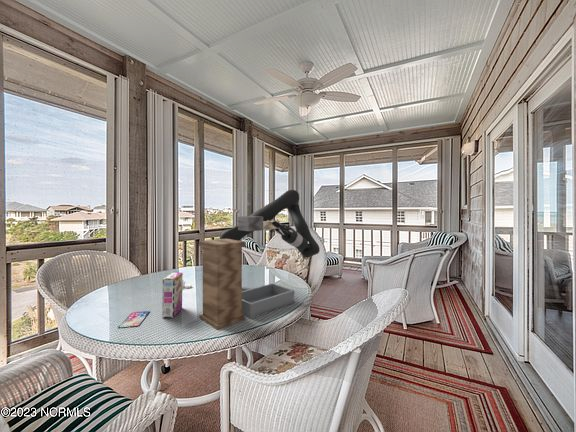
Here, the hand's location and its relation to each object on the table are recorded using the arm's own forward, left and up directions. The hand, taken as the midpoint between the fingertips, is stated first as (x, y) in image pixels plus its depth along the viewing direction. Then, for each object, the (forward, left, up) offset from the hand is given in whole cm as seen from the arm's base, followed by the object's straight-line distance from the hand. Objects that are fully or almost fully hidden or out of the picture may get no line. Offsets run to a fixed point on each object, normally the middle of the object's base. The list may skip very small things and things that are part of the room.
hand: (270, 221), depth 125 cm
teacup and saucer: (-53, +11, -40) cm, 67 cm away
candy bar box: (-38, -20, -39) cm, 58 cm away
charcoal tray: (-3, -3, -39) cm, 39 cm away
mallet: (-3, -5, -3) cm, 6 cm away
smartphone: (-49, -29, -40) cm, 69 cm away
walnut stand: (-15, -21, -39) cm, 47 cm away
